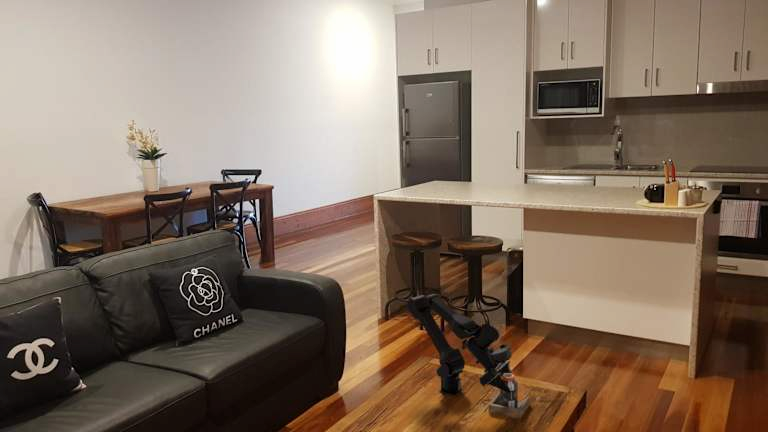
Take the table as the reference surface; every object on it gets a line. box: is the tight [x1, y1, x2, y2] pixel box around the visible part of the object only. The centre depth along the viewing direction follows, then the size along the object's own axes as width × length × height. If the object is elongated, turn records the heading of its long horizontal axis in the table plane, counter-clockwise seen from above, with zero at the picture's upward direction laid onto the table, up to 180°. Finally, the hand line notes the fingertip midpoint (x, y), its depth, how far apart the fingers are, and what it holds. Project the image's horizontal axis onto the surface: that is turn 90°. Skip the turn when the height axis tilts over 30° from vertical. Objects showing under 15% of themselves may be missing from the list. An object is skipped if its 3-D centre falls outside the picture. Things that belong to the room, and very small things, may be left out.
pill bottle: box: [499, 372, 519, 408], centre depth 204 cm, size 6×6×11 cm
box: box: [488, 390, 531, 420], centre depth 205 cm, size 11×11×3 cm
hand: (512, 388), depth 203 cm, fingers closed on pill bottle, 6 cm apart
